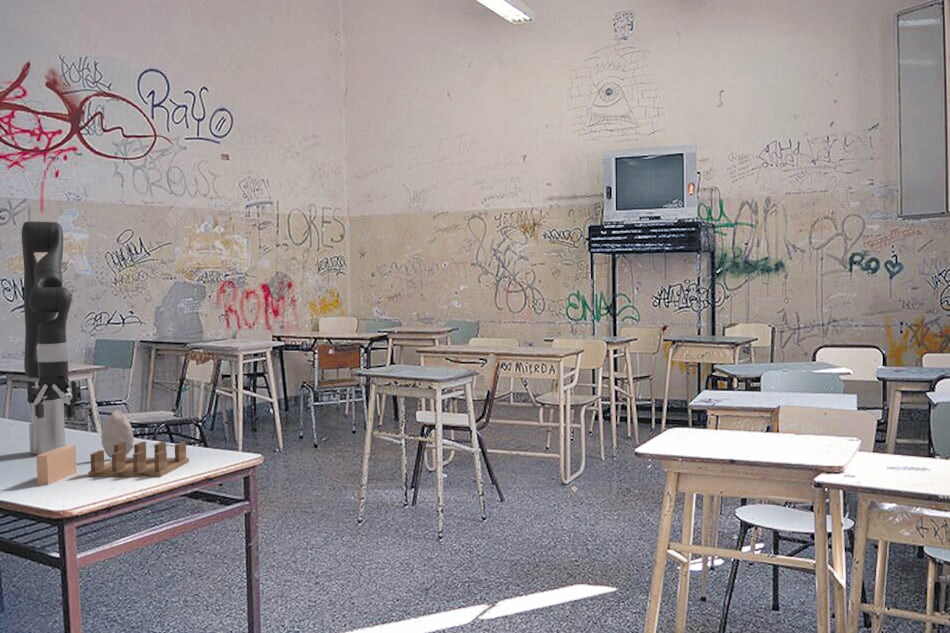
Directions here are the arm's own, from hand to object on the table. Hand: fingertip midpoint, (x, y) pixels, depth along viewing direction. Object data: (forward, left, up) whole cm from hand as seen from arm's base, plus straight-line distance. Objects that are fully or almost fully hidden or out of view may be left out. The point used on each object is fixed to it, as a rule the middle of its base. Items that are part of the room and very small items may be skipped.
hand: (55, 417), depth 239 cm
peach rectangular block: (0, 0, -17) cm, 17 cm away
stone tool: (+4, +26, -17) cm, 31 cm away
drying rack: (+18, +12, -17) cm, 27 cm away
